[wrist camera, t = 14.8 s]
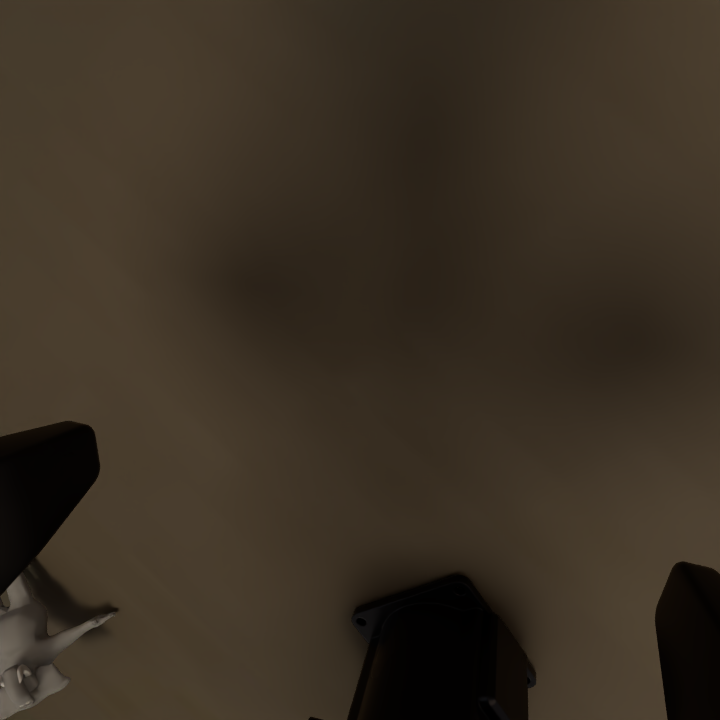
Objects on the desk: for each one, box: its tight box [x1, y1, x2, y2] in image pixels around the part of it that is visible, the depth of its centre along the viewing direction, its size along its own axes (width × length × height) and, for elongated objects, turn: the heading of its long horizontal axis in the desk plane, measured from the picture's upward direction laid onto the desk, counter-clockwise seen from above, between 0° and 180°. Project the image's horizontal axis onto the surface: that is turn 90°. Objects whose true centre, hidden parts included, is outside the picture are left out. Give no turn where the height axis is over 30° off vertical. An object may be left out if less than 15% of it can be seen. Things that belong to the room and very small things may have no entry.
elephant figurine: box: [0, 572, 116, 720], centre depth 30 cm, size 10×6×9 cm
